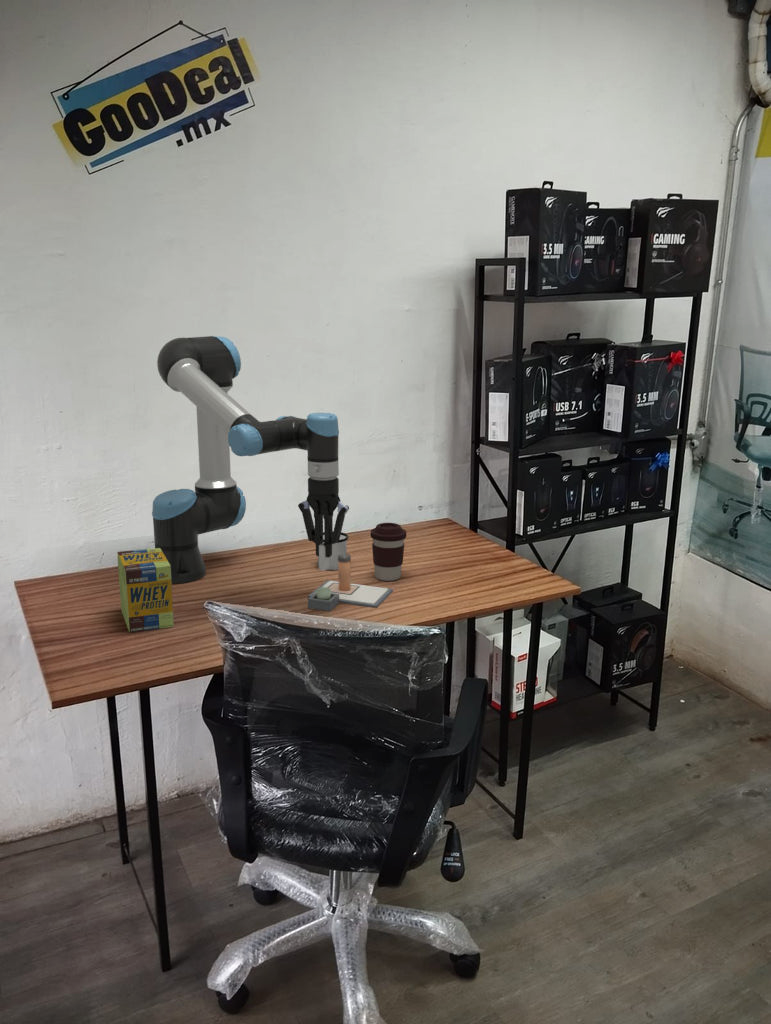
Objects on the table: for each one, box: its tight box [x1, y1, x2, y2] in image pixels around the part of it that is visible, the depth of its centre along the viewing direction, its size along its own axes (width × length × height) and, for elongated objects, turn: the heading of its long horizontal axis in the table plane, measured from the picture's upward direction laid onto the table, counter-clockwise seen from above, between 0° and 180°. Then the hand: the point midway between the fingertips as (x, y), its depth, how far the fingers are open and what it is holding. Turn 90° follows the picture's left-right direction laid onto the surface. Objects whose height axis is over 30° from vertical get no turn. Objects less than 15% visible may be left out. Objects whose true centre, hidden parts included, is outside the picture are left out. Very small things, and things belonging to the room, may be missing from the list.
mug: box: [317, 531, 350, 571], centre depth 246 cm, size 12×10×9 cm
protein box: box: [116, 547, 175, 634], centre depth 203 cm, size 10×15×16 cm
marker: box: [337, 553, 352, 591], centre depth 224 cm, size 3×3×9 cm
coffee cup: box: [370, 522, 407, 582], centre depth 235 cm, size 10×10×15 cm
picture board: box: [307, 579, 394, 609], centre depth 223 cm, size 19×13×1 cm
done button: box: [316, 587, 331, 600], centre depth 215 cm, size 4×4×3 cm
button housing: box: [307, 592, 340, 612], centre depth 215 cm, size 6×6×2 cm
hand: (324, 568), depth 213 cm, fingers closed
